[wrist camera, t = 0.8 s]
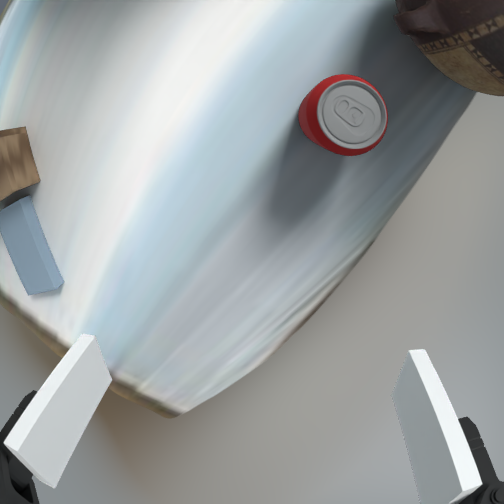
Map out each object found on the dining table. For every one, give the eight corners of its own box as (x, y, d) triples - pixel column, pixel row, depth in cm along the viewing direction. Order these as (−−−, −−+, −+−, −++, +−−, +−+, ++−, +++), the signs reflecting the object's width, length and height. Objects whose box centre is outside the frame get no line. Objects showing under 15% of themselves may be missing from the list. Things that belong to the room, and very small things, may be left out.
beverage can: (335, 158, 33) (362, 176, 22) (285, 123, 32) (289, 122, 21) (368, 113, 30) (410, 109, 19) (319, 76, 29) (340, 53, 18)
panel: (5, 208, 39) (-6, 214, 36) (31, 194, 38) (19, 199, 35) (37, 287, 45) (28, 295, 42) (65, 280, 43) (55, 289, 41)
